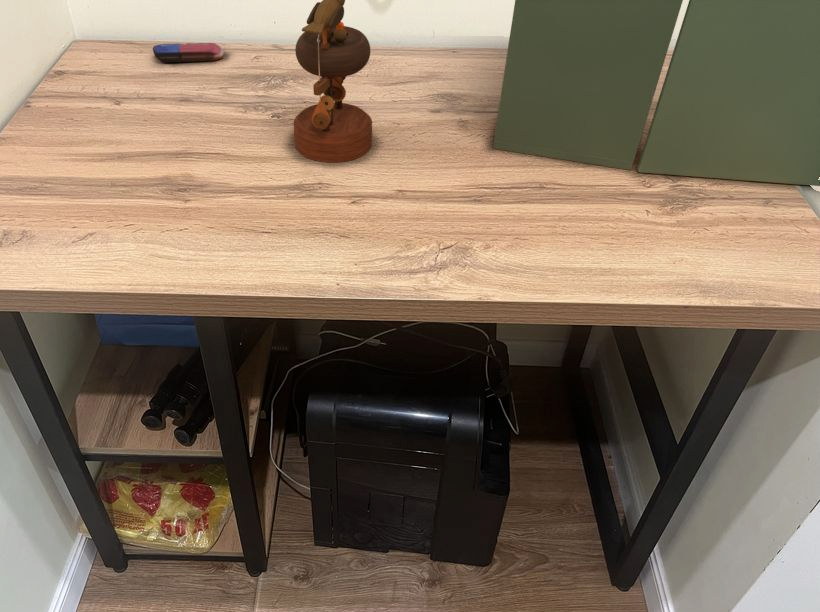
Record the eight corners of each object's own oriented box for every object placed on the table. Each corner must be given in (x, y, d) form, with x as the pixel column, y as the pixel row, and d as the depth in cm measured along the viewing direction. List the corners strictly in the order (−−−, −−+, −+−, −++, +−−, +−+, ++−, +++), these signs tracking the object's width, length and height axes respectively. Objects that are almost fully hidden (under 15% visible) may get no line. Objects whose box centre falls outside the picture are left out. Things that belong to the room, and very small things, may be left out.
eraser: (223, 52, 120) (222, 41, 119) (224, 61, 117) (223, 50, 116) (154, 53, 118) (153, 42, 117) (153, 63, 115) (152, 52, 114)
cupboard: (639, 88, 110) (691, -94, 93) (631, 170, 92) (694, -37, 75) (522, 72, 114) (552, -105, 97) (492, 148, 96) (523, -53, 79)
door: (873, 214, 85) (1002, -2, 68) (644, 196, 87) (714, -16, 71) (853, 185, 89) (968, -24, 73) (636, 168, 92) (700, -36, 75)
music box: (373, 170, 92) (361, 6, 78) (289, 173, 93) (263, 12, 79) (379, 116, 103) (369, -36, 89) (303, 119, 104) (283, -30, 90)
